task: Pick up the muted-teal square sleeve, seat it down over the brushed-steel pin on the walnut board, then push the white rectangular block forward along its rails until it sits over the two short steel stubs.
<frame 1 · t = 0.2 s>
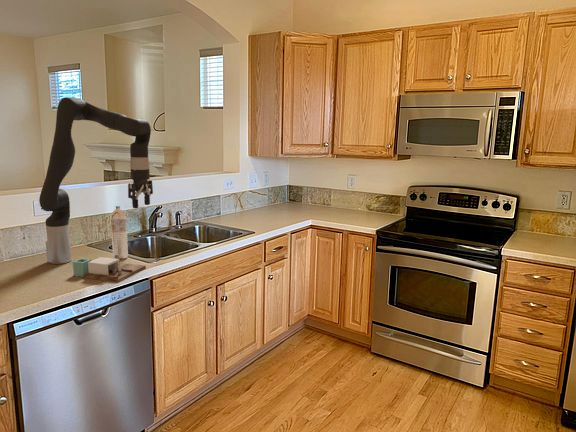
hand: (141, 206, 185), 29 cm above the worktop, fingers open, 8 cm apart
water bottle: (120, 257, 210), on the worktop
sleeve: (83, 274, 185), on the worktop
white rectangular block: (104, 266, 183), point 4 cm above the worktop, slide at 6.0 cm
board: (115, 272, 188), on the worktop
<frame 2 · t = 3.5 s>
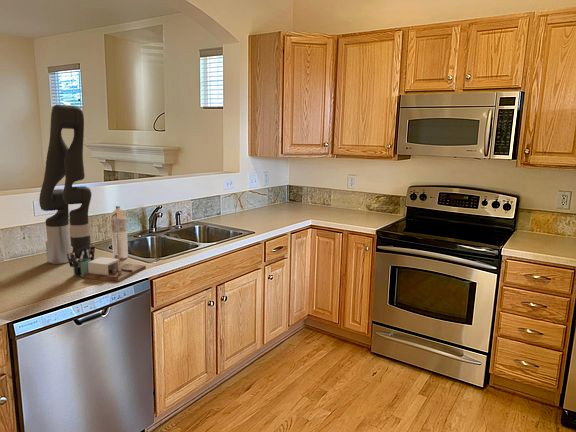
hand: (83, 273, 185), 0 cm above the worktop, fingers closed on sleeve, 5 cm apart
sleeve: (83, 274, 185), on the worktop, touching gripper
everything else where it was.
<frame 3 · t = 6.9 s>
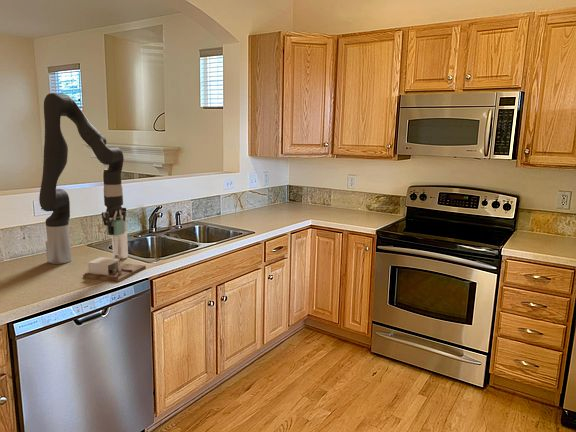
hand: (115, 233, 191), 16 cm above the worktop, fingers closed on sleeve, 5 cm apart
sleeve: (115, 233, 191), point 16 cm above the worktop, touching gripper
everything else where it was.
when the fingers open (3 cm above the worktop, at t = 10.0 s): sleeve drops 1 cm, resting on board.
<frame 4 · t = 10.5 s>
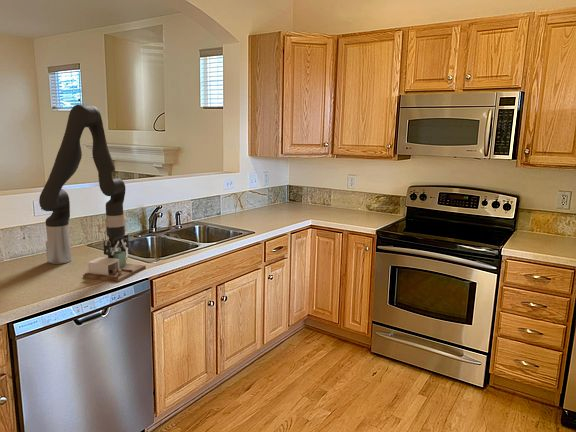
hand: (117, 260, 193), 3 cm above the worktop, fingers open, 8 cm apart
sleeve: (117, 265, 194), point 1 cm above the worktop, touching board
white rectangular block: (104, 266, 183), point 4 cm above the worktop, slide at 6.0 cm, touching gripper
everything else where it was.
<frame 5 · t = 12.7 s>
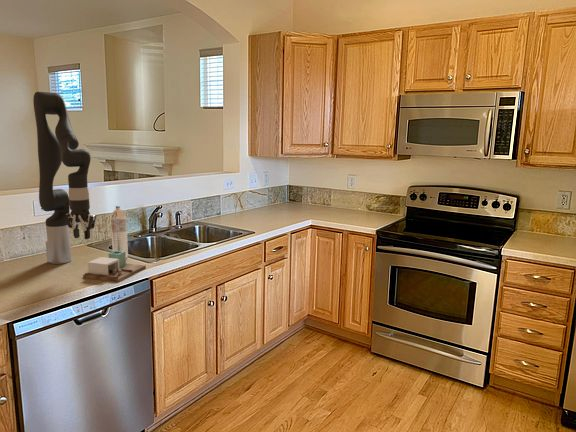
hand: (82, 238, 184), 15 cm above the worktop, fingers open, 4 cm apart
white rectangular block: (104, 266, 183), point 4 cm above the worktop, slide at 6.0 cm
everything else where it was.
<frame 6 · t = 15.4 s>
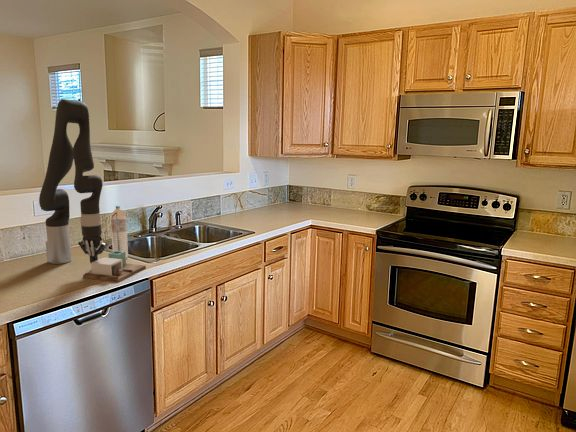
hand: (94, 263, 184), 5 cm above the worktop, fingers closed
white rectangular block: (107, 266, 183), point 4 cm above the worktop, slide at 4.4 cm, touching gripper
everything else where it was.
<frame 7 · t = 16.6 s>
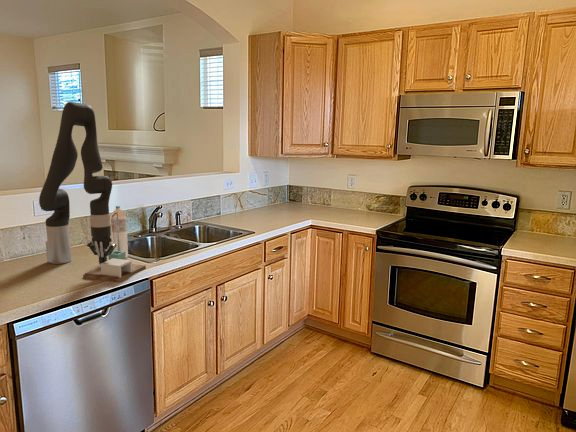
hand: (103, 265, 183), 5 cm above the worktop, fingers closed
white rectangular block: (116, 267, 182), point 4 cm above the worktop, slide at 0.0 cm, touching gripper
everything else where it was.
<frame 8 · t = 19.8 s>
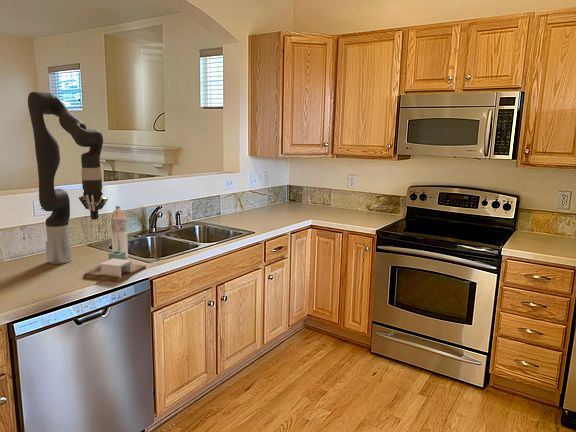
hand: (94, 219, 185), 23 cm above the worktop, fingers closed
white rectangular block: (116, 267, 182), point 4 cm above the worktop, slide at 0.0 cm
everything else where it was.
at the end: sleeve 0.1 cm from the target spot on the board, point 1.2 cm above the board's base; sleeve tilted 0°; white rectangular block slide at 0.0 cm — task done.
